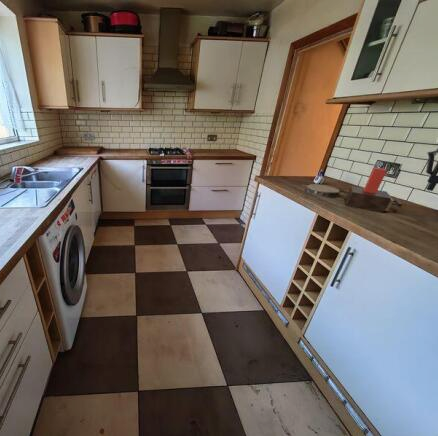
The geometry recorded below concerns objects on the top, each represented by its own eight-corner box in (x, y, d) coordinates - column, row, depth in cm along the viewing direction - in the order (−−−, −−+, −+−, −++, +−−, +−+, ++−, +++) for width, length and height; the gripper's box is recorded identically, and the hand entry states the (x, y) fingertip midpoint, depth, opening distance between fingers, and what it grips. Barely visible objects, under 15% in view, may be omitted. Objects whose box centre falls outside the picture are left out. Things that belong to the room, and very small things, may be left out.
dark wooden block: (379, 204, 123) (386, 191, 119) (383, 212, 113) (391, 198, 110) (345, 198, 131) (351, 185, 127) (346, 205, 121) (352, 191, 117)
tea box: (374, 191, 119) (385, 168, 114) (375, 193, 116) (387, 170, 110) (363, 189, 121) (373, 167, 116) (364, 191, 118) (374, 168, 113)
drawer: (394, 206, 119) (400, 195, 116) (399, 213, 110) (405, 202, 107) (351, 198, 128) (355, 188, 126) (352, 204, 120) (357, 194, 117)
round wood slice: (344, 197, 132) (346, 192, 131) (318, 197, 132) (320, 192, 130) (324, 188, 147) (325, 184, 145) (300, 188, 146) (302, 184, 145)
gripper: (480, 136, 95) (447, 190, 105) (434, 134, 102) (407, 185, 112) (489, 138, 89) (453, 194, 100) (439, 135, 97) (411, 189, 107)
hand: (429, 189), depth 106 cm, fingers closed
